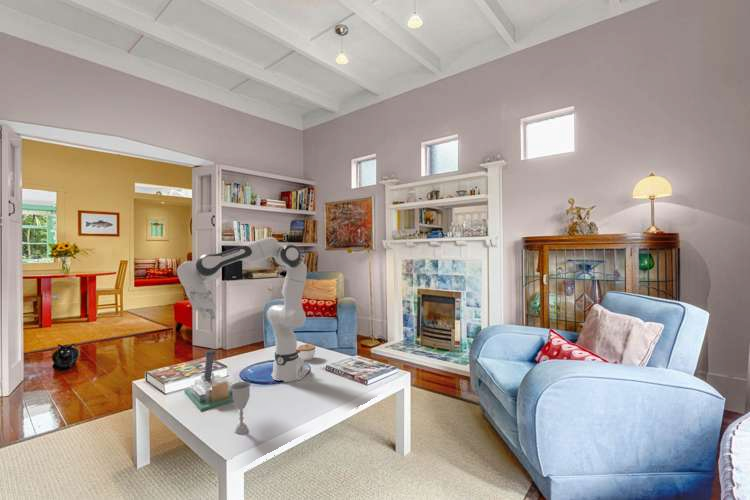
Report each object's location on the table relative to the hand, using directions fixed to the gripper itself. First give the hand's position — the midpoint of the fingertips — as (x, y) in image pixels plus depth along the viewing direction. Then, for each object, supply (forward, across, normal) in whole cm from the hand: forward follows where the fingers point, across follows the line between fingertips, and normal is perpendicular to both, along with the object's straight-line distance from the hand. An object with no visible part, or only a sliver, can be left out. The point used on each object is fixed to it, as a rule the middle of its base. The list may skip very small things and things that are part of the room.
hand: (210, 319), depth 165 cm
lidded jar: (+40, +60, -22) cm, 75 cm away
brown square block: (+34, +5, +13) cm, 37 cm away
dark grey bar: (+17, +12, +13) cm, 25 cm away
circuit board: (+31, +12, +18) cm, 38 cm away
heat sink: (+30, +12, +17) cm, 37 cm away
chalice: (+50, -20, +2) cm, 53 cm away
